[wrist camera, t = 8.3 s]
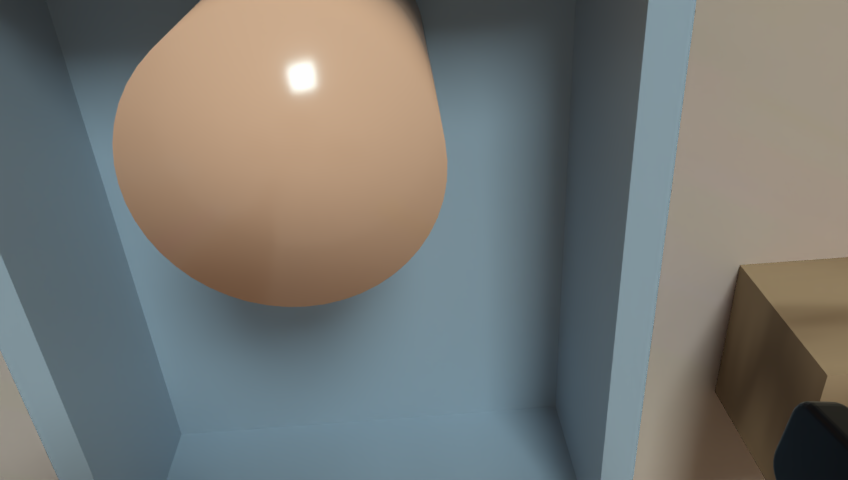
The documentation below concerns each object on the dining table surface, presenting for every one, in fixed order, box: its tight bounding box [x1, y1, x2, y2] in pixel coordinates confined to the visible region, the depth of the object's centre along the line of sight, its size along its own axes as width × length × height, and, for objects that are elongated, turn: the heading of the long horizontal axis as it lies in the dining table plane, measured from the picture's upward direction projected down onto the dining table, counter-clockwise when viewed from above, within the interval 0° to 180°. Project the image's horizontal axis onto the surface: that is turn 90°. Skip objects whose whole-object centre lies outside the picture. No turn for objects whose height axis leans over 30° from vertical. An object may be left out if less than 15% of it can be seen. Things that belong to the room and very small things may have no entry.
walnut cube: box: [715, 257, 848, 480], centre depth 21 cm, size 5×5×5 cm
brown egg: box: [112, 0, 447, 307], centre depth 14 cm, size 5×5×7 cm
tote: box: [0, 0, 696, 480], centre depth 17 cm, size 18×14×6 cm
